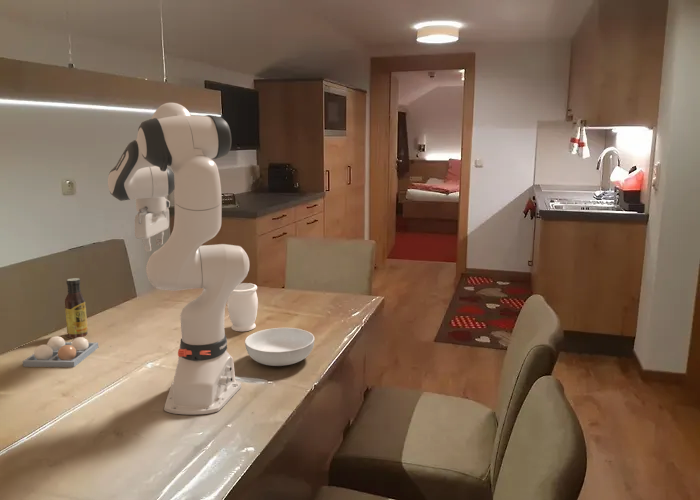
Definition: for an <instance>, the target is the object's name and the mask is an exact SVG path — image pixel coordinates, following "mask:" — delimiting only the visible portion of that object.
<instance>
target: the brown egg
mask: <svg viewBox="0 0 700 500" xmlns="http://www.w3.org/2000/svg"><path fill="white" fill-rule="evenodd" d="M75 356H76V349H75V348H74V347H73V346H72V345H64V346H62V347H61V348H60V349H59V350H58V357H59V359H60V360H62V361H71V360H73V359H74V358H75Z"/></svg>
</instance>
